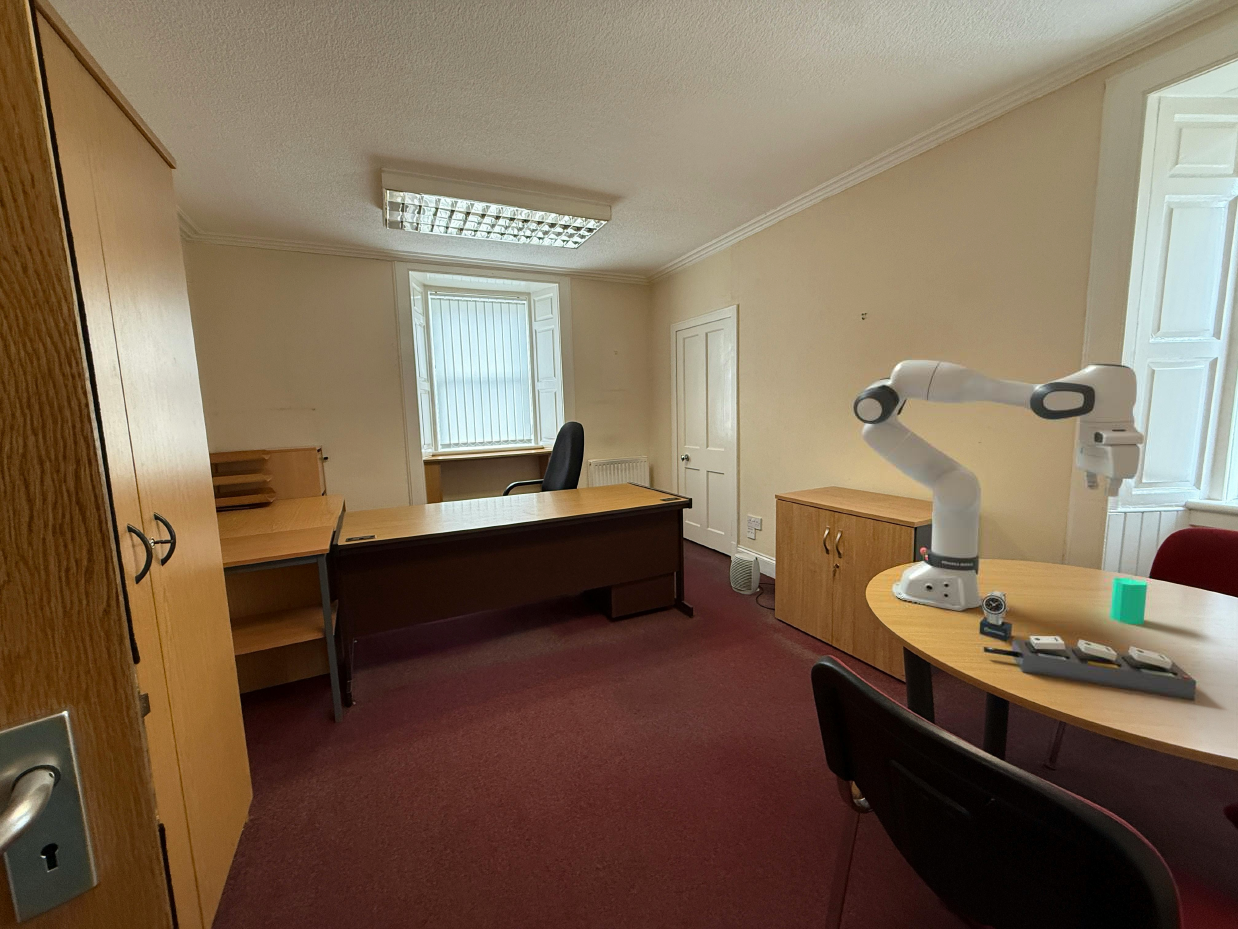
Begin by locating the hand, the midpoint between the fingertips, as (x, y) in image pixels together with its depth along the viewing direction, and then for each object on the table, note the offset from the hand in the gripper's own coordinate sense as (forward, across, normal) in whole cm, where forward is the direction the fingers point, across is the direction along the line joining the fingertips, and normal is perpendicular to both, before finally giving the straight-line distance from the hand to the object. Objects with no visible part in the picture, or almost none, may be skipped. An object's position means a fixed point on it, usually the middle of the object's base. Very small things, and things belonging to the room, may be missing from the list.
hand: (1101, 492), depth 112 cm
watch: (+36, +6, -20) cm, 42 cm away
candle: (+36, -15, +12) cm, 41 cm away
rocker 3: (+30, +20, +2) cm, 37 cm away
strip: (+36, +20, -9) cm, 42 cm away
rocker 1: (+30, +20, -14) cm, 39 cm away
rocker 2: (+30, +20, -6) cm, 37 cm away
